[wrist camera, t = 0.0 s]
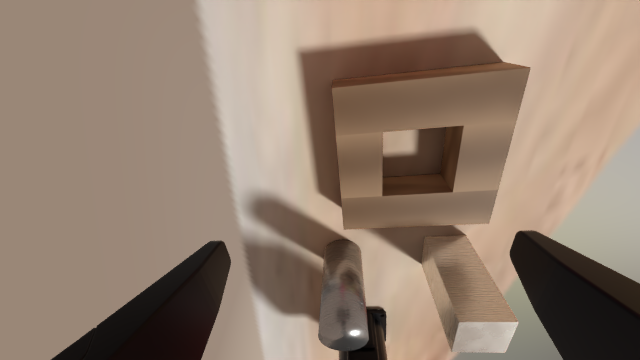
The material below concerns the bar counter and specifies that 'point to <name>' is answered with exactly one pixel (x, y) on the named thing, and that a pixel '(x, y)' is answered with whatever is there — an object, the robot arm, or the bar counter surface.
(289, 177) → the bar counter surface
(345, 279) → the round bit
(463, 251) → the square bit
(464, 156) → the bore block
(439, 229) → the bar counter surface
